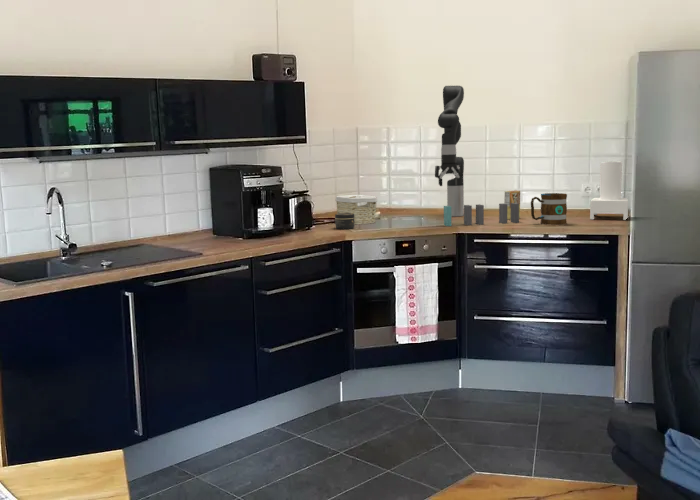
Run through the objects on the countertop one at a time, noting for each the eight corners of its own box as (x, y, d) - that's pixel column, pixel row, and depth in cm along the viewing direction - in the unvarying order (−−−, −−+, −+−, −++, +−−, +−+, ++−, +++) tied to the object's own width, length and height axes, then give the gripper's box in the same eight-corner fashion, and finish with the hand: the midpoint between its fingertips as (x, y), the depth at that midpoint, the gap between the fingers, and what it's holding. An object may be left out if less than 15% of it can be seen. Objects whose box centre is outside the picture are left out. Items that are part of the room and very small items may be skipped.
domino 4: (514, 223, 416) (514, 203, 415) (510, 222, 421) (510, 203, 420) (518, 222, 417) (519, 203, 415) (515, 221, 421) (515, 202, 420)
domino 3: (502, 223, 415) (503, 204, 413) (499, 222, 420) (499, 203, 418) (507, 223, 415) (507, 204, 414) (503, 222, 420) (503, 203, 419)
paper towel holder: (590, 219, 426) (591, 162, 421) (593, 215, 443) (594, 161, 439) (627, 219, 419) (628, 162, 414) (629, 216, 436) (630, 161, 432)
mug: (558, 221, 419) (558, 192, 417) (572, 223, 406) (572, 194, 404) (524, 223, 414) (524, 194, 412) (537, 225, 401) (537, 196, 399)
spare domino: (447, 226, 408) (446, 206, 407) (443, 225, 413) (443, 206, 412) (451, 226, 409) (451, 206, 407) (448, 225, 414) (448, 205, 412)
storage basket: (335, 221, 445) (334, 195, 443) (362, 220, 450) (361, 193, 448) (350, 225, 423) (349, 197, 421) (378, 224, 428) (378, 196, 426)
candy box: (514, 218, 441) (514, 190, 439) (520, 218, 438) (520, 190, 435) (503, 219, 435) (503, 191, 433) (510, 219, 432) (510, 191, 430)
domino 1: (467, 225, 411) (467, 205, 409) (463, 224, 416) (463, 205, 414) (471, 225, 411) (471, 205, 410) (468, 224, 416) (468, 204, 415)
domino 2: (479, 224, 412) (479, 205, 411) (475, 223, 417) (475, 204, 415) (483, 224, 413) (483, 205, 411) (480, 223, 417) (480, 204, 416)
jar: (348, 230, 402) (347, 215, 401) (331, 229, 407) (331, 214, 406) (358, 228, 410) (358, 213, 409) (342, 227, 416) (341, 212, 415)
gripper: (459, 153, 411) (459, 185, 413) (432, 154, 408) (433, 185, 410) (464, 153, 404) (464, 185, 406) (437, 154, 401) (438, 186, 403)
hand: (448, 185), depth 408 cm, fingers open, 8 cm apart
